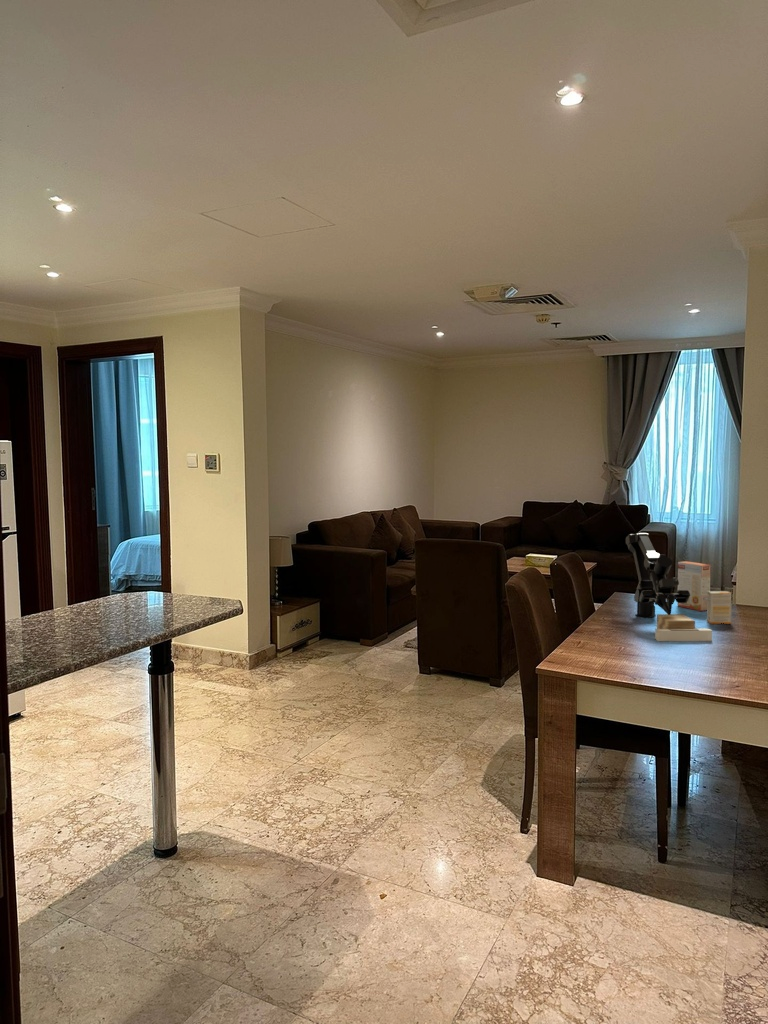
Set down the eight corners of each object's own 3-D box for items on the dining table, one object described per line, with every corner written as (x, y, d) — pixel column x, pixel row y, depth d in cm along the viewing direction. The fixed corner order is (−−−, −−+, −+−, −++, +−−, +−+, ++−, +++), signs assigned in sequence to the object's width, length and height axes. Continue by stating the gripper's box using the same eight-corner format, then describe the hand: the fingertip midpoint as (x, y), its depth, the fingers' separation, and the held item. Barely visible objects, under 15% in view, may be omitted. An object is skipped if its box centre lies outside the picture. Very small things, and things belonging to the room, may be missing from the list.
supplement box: (726, 621, 299) (727, 590, 298) (731, 624, 294) (731, 592, 293) (706, 621, 300) (706, 590, 299) (710, 624, 295) (711, 592, 294)
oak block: (656, 631, 284) (656, 614, 283) (682, 631, 283) (682, 614, 283) (668, 639, 272) (668, 621, 271) (694, 639, 271) (695, 620, 271)
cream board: (655, 639, 271) (655, 628, 271) (708, 638, 271) (708, 627, 270) (657, 641, 268) (658, 629, 268) (711, 640, 267) (712, 629, 267)
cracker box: (710, 610, 321) (711, 564, 320) (700, 611, 319) (701, 565, 317) (686, 605, 334) (687, 560, 333) (676, 606, 332) (677, 561, 330)
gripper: (641, 570, 288) (650, 602, 277) (688, 570, 287) (699, 602, 277) (635, 586, 296) (644, 618, 285) (680, 586, 295) (691, 618, 285)
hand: (669, 614), depth 283 cm, fingers closed
